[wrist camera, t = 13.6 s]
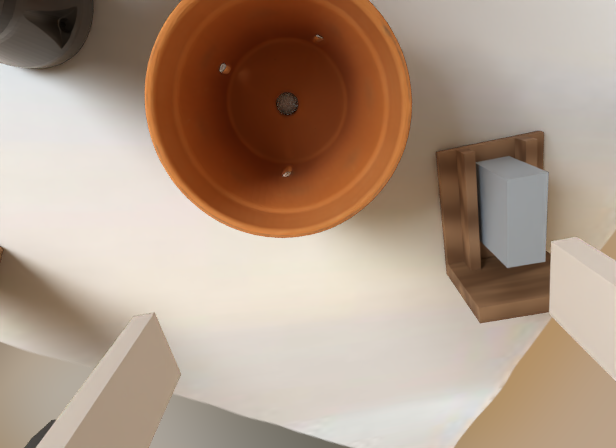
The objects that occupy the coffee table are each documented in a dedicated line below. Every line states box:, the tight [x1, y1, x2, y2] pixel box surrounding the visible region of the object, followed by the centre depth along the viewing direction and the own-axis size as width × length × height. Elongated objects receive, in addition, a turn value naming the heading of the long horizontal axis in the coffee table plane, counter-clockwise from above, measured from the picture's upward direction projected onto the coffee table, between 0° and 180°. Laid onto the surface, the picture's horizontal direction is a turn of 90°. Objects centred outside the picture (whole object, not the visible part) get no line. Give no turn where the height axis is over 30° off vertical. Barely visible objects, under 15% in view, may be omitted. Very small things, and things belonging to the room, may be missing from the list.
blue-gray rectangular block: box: [476, 156, 549, 268], centre depth 42 cm, size 10×4×8 cm, turn 11°
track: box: [436, 131, 551, 323], centre depth 42 cm, size 17×12×11 cm
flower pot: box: [145, 0, 412, 238], centre depth 36 cm, size 21×21×15 cm
